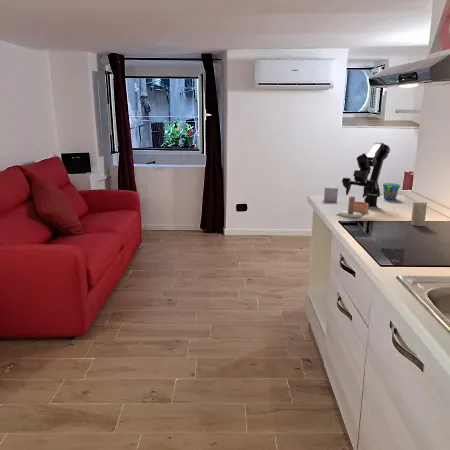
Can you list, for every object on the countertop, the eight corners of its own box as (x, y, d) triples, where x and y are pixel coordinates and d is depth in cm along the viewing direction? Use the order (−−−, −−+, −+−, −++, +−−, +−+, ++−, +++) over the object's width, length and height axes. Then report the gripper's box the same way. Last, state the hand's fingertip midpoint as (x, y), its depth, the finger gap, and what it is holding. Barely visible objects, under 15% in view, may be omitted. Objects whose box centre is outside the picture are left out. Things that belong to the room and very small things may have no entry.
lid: (358, 212, 247) (360, 195, 244) (364, 217, 235) (366, 199, 232) (336, 212, 247) (338, 194, 244) (342, 217, 235) (343, 198, 232)
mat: (343, 212, 249) (343, 211, 249) (365, 215, 242) (365, 214, 242) (335, 216, 239) (335, 215, 239) (357, 219, 232) (357, 218, 232)
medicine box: (336, 200, 282) (337, 187, 280) (337, 201, 278) (338, 188, 276) (323, 200, 283) (324, 186, 281) (324, 201, 278) (325, 188, 276)
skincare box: (423, 224, 226) (426, 201, 223) (424, 226, 222) (427, 203, 219) (410, 223, 228) (413, 200, 225) (410, 225, 224) (413, 201, 221)
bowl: (364, 210, 256) (365, 201, 255) (369, 214, 246) (370, 205, 245) (347, 209, 256) (348, 201, 255) (352, 213, 246) (352, 204, 245)
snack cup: (385, 196, 300) (387, 181, 297) (401, 198, 294) (403, 183, 291) (377, 199, 288) (379, 184, 285) (393, 202, 282) (395, 186, 279)
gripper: (344, 163, 246) (335, 185, 240) (378, 166, 236) (369, 189, 230) (348, 175, 255) (339, 197, 249) (380, 179, 244) (372, 201, 238)
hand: (354, 196), depth 241 cm, fingers open, 9 cm apart
